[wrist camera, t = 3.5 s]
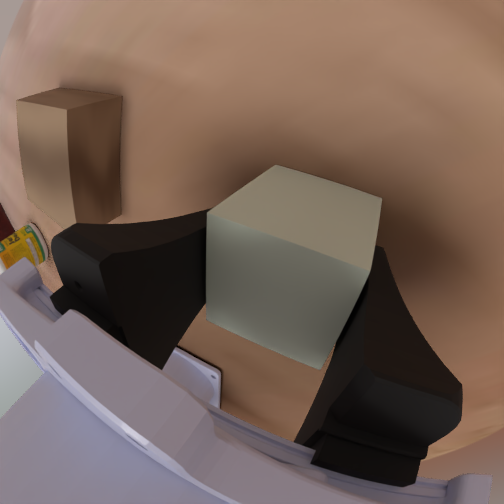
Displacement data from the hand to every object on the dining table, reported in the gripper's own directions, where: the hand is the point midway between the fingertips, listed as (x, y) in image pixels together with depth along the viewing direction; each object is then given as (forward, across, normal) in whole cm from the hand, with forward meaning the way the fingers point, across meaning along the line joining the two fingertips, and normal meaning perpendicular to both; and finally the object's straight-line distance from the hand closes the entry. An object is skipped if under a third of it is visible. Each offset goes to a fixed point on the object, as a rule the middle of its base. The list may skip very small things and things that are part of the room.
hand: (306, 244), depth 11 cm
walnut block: (+2, +16, -1) cm, 16 cm away
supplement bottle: (+2, +32, +13) cm, 35 cm away
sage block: (+1, 0, 0) cm, 1 cm away
